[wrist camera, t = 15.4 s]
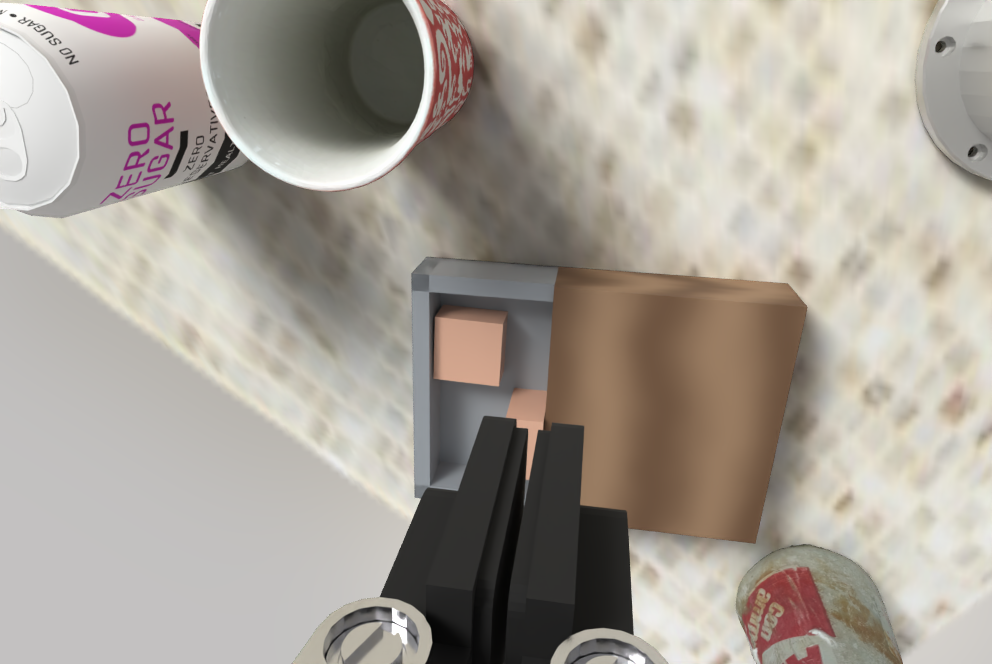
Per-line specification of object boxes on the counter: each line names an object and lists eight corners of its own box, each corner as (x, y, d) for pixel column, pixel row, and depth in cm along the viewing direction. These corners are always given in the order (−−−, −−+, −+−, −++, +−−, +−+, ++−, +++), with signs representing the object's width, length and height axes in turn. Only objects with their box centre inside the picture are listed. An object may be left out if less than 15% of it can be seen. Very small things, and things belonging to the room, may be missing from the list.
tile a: (543, 422, 38) (505, 418, 39) (540, 481, 40) (503, 477, 40) (548, 390, 42) (514, 387, 42) (545, 446, 44) (511, 442, 44)
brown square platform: (787, 283, 38) (807, 307, 34) (742, 503, 44) (755, 543, 40) (558, 266, 40) (553, 287, 36) (543, 480, 45) (538, 517, 42)
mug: (499, 146, 38) (447, 186, 25) (345, 155, 39) (226, 198, 27) (480, -118, 33) (406, -225, 21) (307, -96, 35) (142, -184, 22)
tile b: (434, 317, 39) (443, 304, 41) (433, 378, 41) (441, 363, 43) (503, 324, 39) (507, 311, 41) (498, 386, 40) (503, 371, 42)
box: (558, 266, 40) (554, 284, 37) (543, 480, 45) (538, 512, 42) (426, 256, 41) (411, 273, 38) (427, 467, 46) (414, 497, 43)
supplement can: (132, 19, 38) (-135, -6, 24) (270, 26, 37) (73, 4, 23) (152, 165, 41) (-74, 216, 27) (280, 175, 40) (112, 233, 26)
